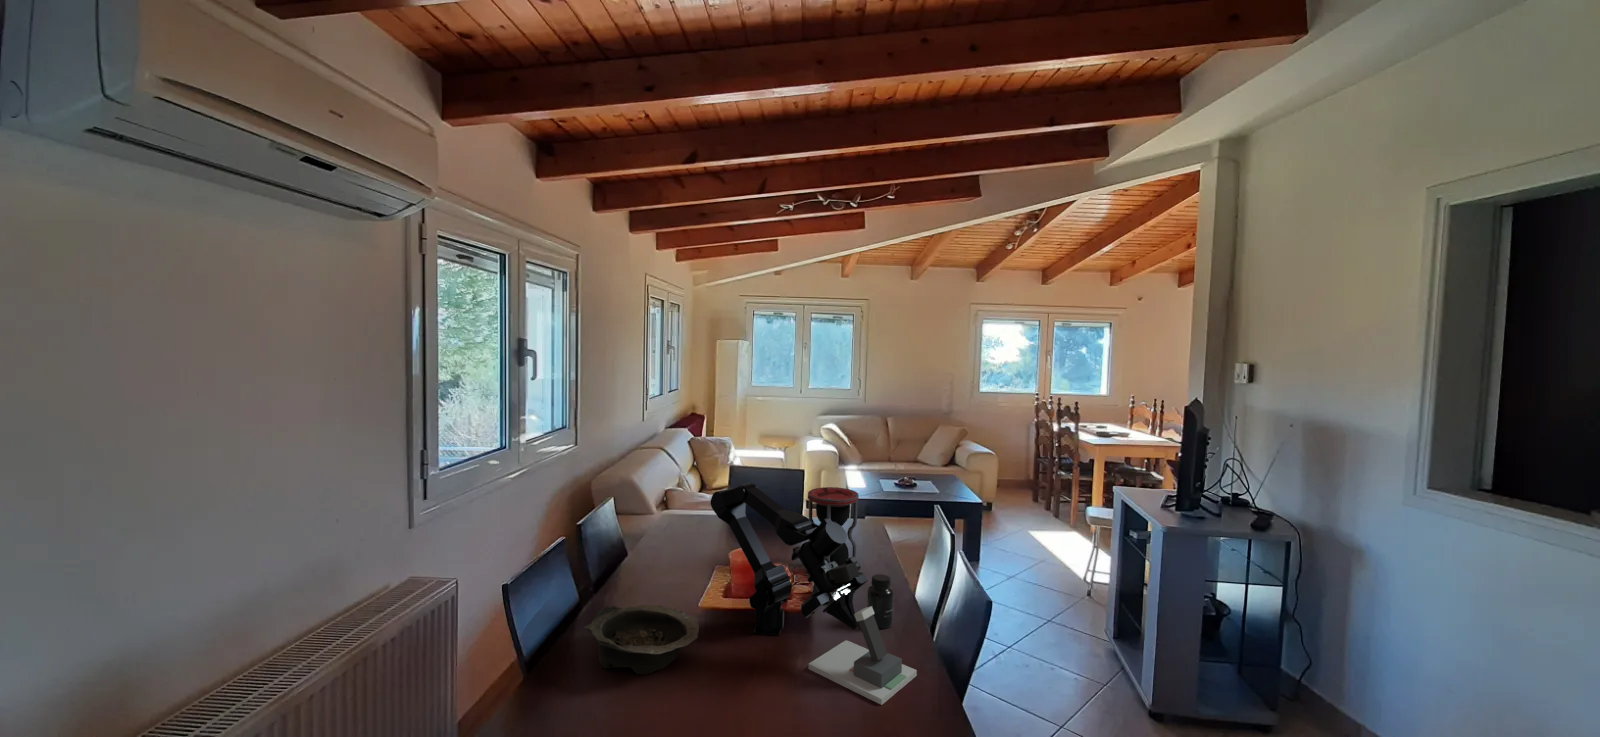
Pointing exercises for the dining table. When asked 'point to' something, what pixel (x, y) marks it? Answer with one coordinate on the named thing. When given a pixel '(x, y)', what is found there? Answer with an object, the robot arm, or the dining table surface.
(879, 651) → the breaker lever
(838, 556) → the hourglass
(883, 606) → the supplement bottle
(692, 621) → the stone bowl
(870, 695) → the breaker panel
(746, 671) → the dining table surface
